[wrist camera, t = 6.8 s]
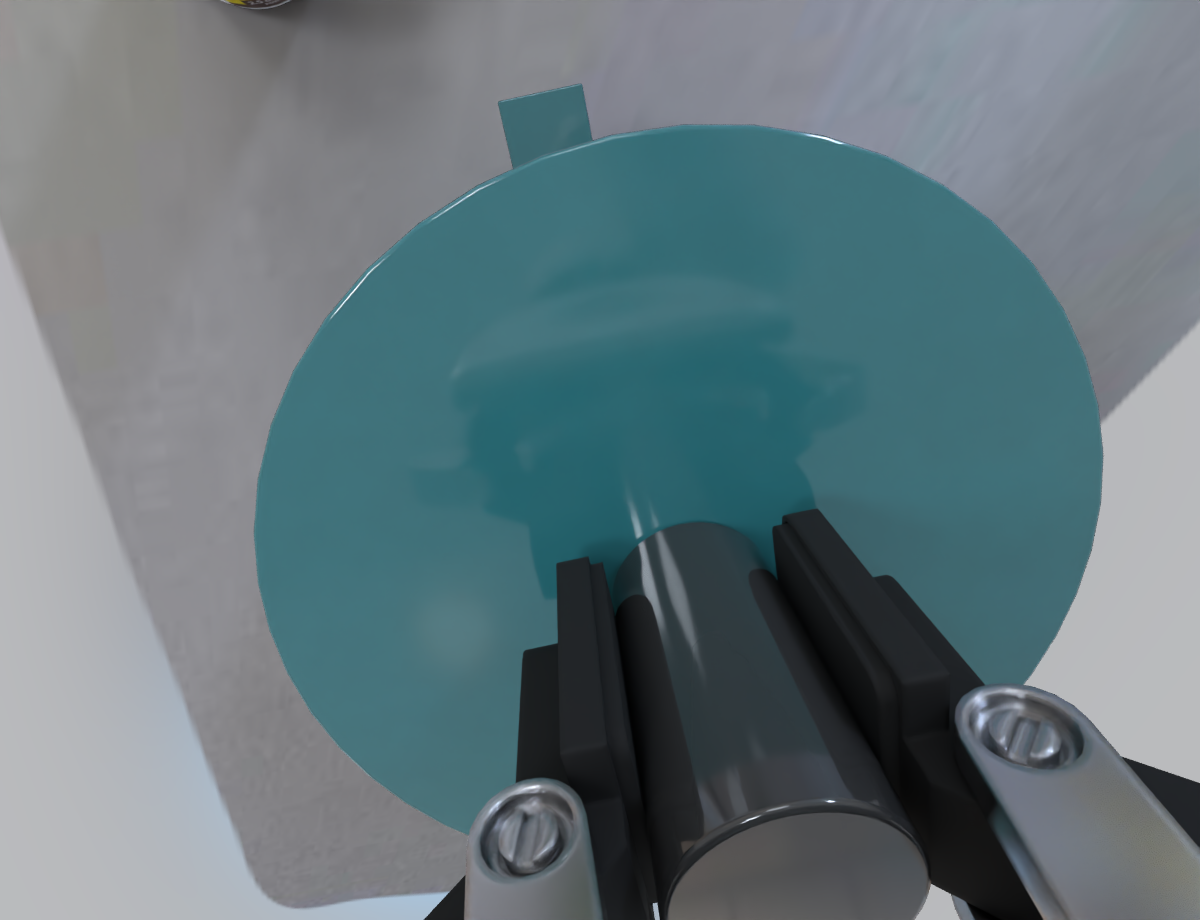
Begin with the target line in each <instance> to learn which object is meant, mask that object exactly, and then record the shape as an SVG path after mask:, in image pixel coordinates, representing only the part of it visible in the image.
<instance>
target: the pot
mask: <svg viewBox="0 0 1200 920" xmlns="http://www.w3.org/2000/svg"><path fill="white" fill-rule="evenodd" d="M498 106H499V110H500V115H501V119H502V123H503V127H504V132H505V136H506V140H507V145H508V149H509V153H510V158H511V162H512V166H513V169H514V168H516V167H518V166H520V165H523V164H525V163H527V162H529V161H531V160H533V159H536V158H538V157H540V156H542V155H545V154H549V153H552V152H555V151H559V150H562V149H566V148H569V147H572V146H576V145H579V144H582V143H586V142H589V141H593V140H592V135H591V129H590V124H589V118H588V113H587V108H586V102H585V97H584V91H583V86H582V84H576V85H571V86H566V87H562V88H557V89H553V90H548V91H544V92H539V93H534V94H530V95H525V96H521V97H516V98H512V99H507V100H502V101H499V102H498Z"/></svg>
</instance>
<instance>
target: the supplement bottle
mask: <svg viewBox="0 0 1200 920" xmlns="http://www.w3.org/2000/svg"><path fill="white" fill-rule="evenodd" d="M221 1H223V2H225V3H228V4H231V5H235V6H238V7H243V8H250V9H267V8H272V7H276V6H280V5H282V4H285V3H287V2H289V1H291V0H221Z"/></svg>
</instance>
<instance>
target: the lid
mask: <svg viewBox="0 0 1200 920" xmlns="http://www.w3.org/2000/svg"><path fill="white" fill-rule="evenodd" d="M1102 472H1103V446H1102V437H1101V427H1100V417H1099V407H1098V402H1097V399H1096V395H1095V391H1094V388H1093V384H1092V380H1091V376H1090V373H1089V369H1088V365H1087V361H1086V358H1085V355H1084V353H1083V351H1082V348H1081V346H1080V344H1079V342H1078V340H1077V337H1076V335H1075V333H1074V331H1073V329H1072V326H1071V324H1070V322H1069V320H1068V318H1067V315H1066V313H1065V311H1064V309H1063V307H1062V306H1061V304H1060V303H1059V301H1058V300H1057V298H1056V297H1055V296H1054V294H1053V293H1052V291H1051V290H1050V288H1049V287H1048V285H1047V284H1046V282H1045V281H1044V279H1043V278H1042V276H1041V275H1040V273H1039V272H1038V271H1037V269H1036V268H1035V266H1034V265H1033V263H1032V262H1031V261H1030V260H1029V259H1028V258H1027V257H1026V255H1025V254H1024V253H1023V252H1022V251H1021V250H1020V249H1019V248H1018V247H1017V246H1016V245H1015V244H1014V243H1013V242H1012V241H1011V240H1010V239H1009V238H1008V237H1007V236H1006V235H1005V234H1004V233H1003V232H1002V231H1001V230H1000V229H999V228H998V226H997V225H996V224H995V223H994V222H993V221H992V220H991V219H989V218H988V217H986V216H985V215H984V214H982V213H981V212H980V211H978V210H977V209H976V208H974V207H973V206H971V205H970V204H969V203H967V202H966V201H965V200H963V199H962V198H961V197H959V196H958V195H957V194H955V193H954V192H952V191H951V190H950V189H948V188H947V187H946V186H944V185H943V184H941V183H939V182H937V181H935V180H933V179H931V178H929V177H927V176H925V175H923V174H921V173H919V172H917V171H916V170H914V169H912V168H910V167H908V166H906V165H904V164H902V163H900V162H898V161H896V160H894V159H892V158H890V157H888V156H886V155H883V154H880V153H877V152H873V151H870V150H867V149H864V148H861V147H858V146H855V145H851V144H848V143H845V142H842V141H839V140H836V139H833V138H830V137H826V136H823V135H818V134H811V133H805V132H798V131H792V130H785V129H779V128H772V127H766V126H759V125H693V124H683V125H676V126H669V127H662V128H655V129H648V130H642V131H635V132H628V133H621V134H614V135H609V136H606V137H603V138H599V139H596V140H593V141H589V142H586V143H582V144H579V145H576V146H572V147H569V148H566V149H562V150H559V151H555V152H552V153H549V154H545V155H542V156H540V157H538V158H536V159H533V160H531V161H529V162H527V163H525V164H523V165H520V166H518V167H516V168H514V169H512V170H510V171H507V172H505V173H503V174H501V175H499V176H496V177H494V178H492V179H490V180H488V181H486V182H483V183H481V184H479V185H477V186H475V187H474V188H472V189H471V190H469V191H468V192H466V193H465V194H463V195H462V196H460V197H458V198H457V199H455V200H454V201H452V202H451V203H449V204H448V205H446V206H445V207H443V208H442V209H440V210H438V211H437V212H435V213H434V214H432V215H431V216H429V217H428V218H426V219H425V220H423V221H422V222H420V223H418V224H417V225H416V226H415V227H414V228H413V229H412V230H410V231H409V232H408V233H407V234H406V235H405V236H404V237H402V238H401V239H400V240H399V241H398V242H397V243H396V244H395V245H393V246H392V247H391V248H390V249H389V250H388V251H387V252H385V253H384V254H383V255H382V256H381V257H380V258H379V259H377V260H376V261H375V262H374V263H373V264H372V265H371V266H370V267H368V268H367V269H366V271H365V272H364V273H363V274H362V275H361V277H360V278H359V279H358V280H357V281H356V282H355V284H354V285H353V286H352V287H351V288H350V290H349V291H348V292H347V293H346V294H345V295H344V297H343V298H342V299H341V300H340V301H339V303H338V304H337V305H336V306H335V307H334V309H333V310H332V311H331V312H330V313H329V314H328V316H327V317H326V318H325V320H324V321H323V323H322V325H321V326H320V328H319V329H318V331H317V333H316V334H315V336H314V338H313V339H312V341H311V343H310V344H309V346H308V347H307V349H306V351H305V352H304V354H303V356H302V357H301V359H300V361H299V362H298V364H297V365H296V367H295V369H294V370H293V373H292V375H291V377H290V380H289V382H288V385H287V387H286V389H285V392H284V394H283V397H282V399H281V401H280V404H279V406H278V409H277V411H276V413H275V416H274V418H273V421H272V423H271V426H270V430H269V434H268V438H267V443H266V447H265V451H264V455H263V459H262V463H261V468H260V472H259V476H258V483H257V496H256V509H255V522H254V541H255V553H256V565H257V577H258V585H259V589H260V593H261V598H262V602H263V606H264V610H265V614H266V618H267V622H268V626H269V630H270V633H271V635H272V638H273V640H274V642H275V645H276V647H277V650H278V652H279V654H280V657H281V659H282V662H283V664H284V667H285V669H286V671H287V674H288V675H289V677H290V679H291V680H292V682H293V684H294V685H295V687H296V689H297V690H298V692H299V694H300V695H301V697H302V699H303V700H304V702H305V704H306V706H307V707H308V709H309V711H310V712H311V714H312V715H313V716H314V717H315V719H316V720H317V721H318V722H319V723H320V725H321V726H322V727H323V728H324V730H325V731H326V732H327V733H328V735H329V736H330V737H331V738H332V740H333V741H334V742H335V743H336V745H337V746H338V747H339V748H340V749H341V750H342V751H343V752H344V753H345V754H346V755H347V756H348V757H349V758H350V759H352V760H353V761H354V762H355V763H356V764H357V765H358V766H359V767H360V768H361V769H362V770H363V771H364V772H365V773H366V774H367V775H368V776H369V777H370V778H372V779H373V780H374V781H376V782H377V783H378V784H380V785H381V786H383V787H384V788H385V789H387V790H388V791H389V792H391V793H392V794H393V795H395V796H396V797H397V798H399V799H400V800H401V801H403V802H404V803H406V804H407V805H409V806H411V807H413V808H414V809H416V810H418V811H420V812H421V813H423V814H425V815H426V816H428V817H430V818H432V819H433V820H435V821H437V822H439V823H440V824H442V825H444V826H447V827H449V828H451V829H453V830H456V831H458V832H460V833H463V834H465V835H467V836H469V832H470V828H471V826H472V824H473V823H474V821H475V819H476V817H477V815H478V813H479V812H480V810H481V809H482V808H483V807H484V806H485V805H486V804H487V802H488V801H489V800H490V799H491V798H492V797H493V796H495V795H496V794H498V793H499V792H500V791H502V790H503V789H505V788H506V787H508V786H510V785H513V784H515V783H516V767H517V748H518V729H519V711H520V692H521V673H522V658H523V652H524V651H525V650H528V649H533V648H537V647H542V646H547V645H552V644H556V643H558V628H557V579H556V564H557V563H559V562H564V561H568V560H573V559H578V558H583V557H587V556H588V557H589V560H590V563H591V564H596V563H601V562H602V563H603V566H604V570H605V574H606V579H607V583H608V587H609V592H610V596H611V600H612V604H613V609H614V613H615V618H616V624H617V631H618V638H619V644H620V651H621V657H622V664H623V671H624V677H625V684H626V691H627V697H628V704H629V710H630V717H631V724H632V730H633V737H634V744H635V750H636V757H637V763H638V770H639V777H640V783H641V790H642V797H643V803H644V810H645V816H646V821H645V823H646V829H647V836H648V843H649V849H650V856H651V863H652V870H653V876H654V883H655V890H656V896H657V903H658V910H659V916H660V920H915V918H916V916H917V915H918V914H919V912H920V911H921V909H922V907H923V905H924V903H925V901H926V899H927V896H928V893H929V889H930V885H931V876H932V874H931V864H930V856H929V853H928V849H927V846H926V844H925V842H924V840H923V839H922V837H921V835H920V833H919V831H918V830H917V828H916V826H915V824H914V823H913V821H912V819H911V817H910V815H909V814H908V812H907V810H906V808H905V807H904V805H903V803H902V801H901V799H900V798H899V796H898V794H897V792H896V791H895V789H894V787H893V785H892V783H891V782H890V780H889V778H888V776H887V774H886V773H885V771H884V769H883V767H882V766H881V764H880V762H879V760H878V758H877V757H876V755H875V753H874V751H873V750H872V748H871V746H870V744H869V742H868V741H867V739H866V737H865V735H864V734H863V732H862V730H861V728H860V726H859V725H858V723H857V721H856V719H855V718H854V716H853V714H852V712H851V710H850V709H849V707H848V705H847V703H846V702H845V700H844V698H843V696H842V694H841V693H840V691H839V689H838V687H837V685H836V684H835V682H834V680H833V678H832V677H831V675H830V673H829V671H828V669H827V668H826V666H825V664H824V662H823V661H822V659H821V657H820V655H819V653H818V652H817V650H816V648H815V646H814V645H813V643H812V641H811V639H810V637H809V636H808V634H807V632H806V630H805V629H804V627H803V625H802V623H801V621H800V620H799V618H798V616H797V614H796V613H795V611H794V609H793V607H792V605H791V604H790V602H789V600H788V598H787V596H786V595H785V593H784V591H783V589H782V588H781V586H780V584H779V582H778V580H777V572H776V563H775V554H774V544H773V535H772V529H773V526H776V525H781V524H782V517H783V516H784V515H787V514H792V513H796V512H801V511H806V510H811V509H818V510H819V511H820V512H821V513H822V514H823V515H824V517H825V518H826V519H827V520H828V522H829V523H830V524H831V525H832V527H833V528H834V529H835V530H836V532H837V533H838V534H839V535H840V537H841V538H842V539H843V540H844V542H845V543H846V544H847V545H848V547H849V548H850V549H851V550H852V552H853V553H854V554H855V555H856V557H857V558H858V559H859V560H860V562H861V563H862V564H863V565H864V567H865V568H866V569H867V570H868V572H869V573H870V574H871V575H872V577H877V576H882V575H889V576H892V577H893V578H894V579H895V580H896V581H897V582H898V583H899V584H900V585H901V586H902V588H903V589H904V590H905V591H906V592H907V593H908V595H909V596H910V597H911V598H912V599H913V600H914V602H915V603H916V604H917V605H918V606H919V608H920V609H921V610H922V611H923V612H924V613H925V615H926V616H927V617H928V618H929V619H930V620H931V622H932V623H933V624H934V625H935V626H936V627H937V629H938V630H939V631H940V632H941V633H942V635H943V636H944V637H945V638H946V639H947V640H948V642H949V643H950V644H951V645H952V646H953V647H954V649H955V650H956V651H957V652H958V653H959V655H960V656H961V657H962V658H963V659H964V660H965V662H966V663H967V664H968V665H969V666H970V667H971V669H972V670H973V671H974V672H975V673H976V674H977V676H978V677H979V678H980V679H981V680H982V682H983V683H984V684H985V685H988V684H994V683H1014V684H1020V685H1024V683H1025V682H1026V681H1027V680H1028V678H1029V677H1030V676H1031V675H1032V673H1033V672H1034V670H1035V668H1036V667H1037V665H1038V664H1039V662H1040V661H1041V659H1042V657H1043V656H1044V655H1045V653H1046V651H1047V650H1048V648H1049V647H1050V645H1051V644H1052V642H1053V640H1054V639H1055V637H1056V636H1057V634H1058V631H1059V630H1060V627H1061V625H1062V623H1063V621H1064V619H1065V617H1066V615H1067V613H1068V611H1069V609H1070V607H1071V605H1072V602H1073V601H1074V599H1075V597H1076V594H1077V591H1078V589H1079V586H1080V583H1081V580H1082V577H1083V574H1084V571H1085V568H1086V565H1087V562H1088V559H1089V556H1090V554H1091V551H1092V546H1093V541H1094V536H1095V531H1096V526H1097V521H1098V515H1099V510H1100V505H1101V492H1102Z"/></svg>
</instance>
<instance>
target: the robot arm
mask: <svg viewBox="0 0 1200 920" xmlns="http://www.w3.org/2000/svg"><path fill="white" fill-rule="evenodd" d="M772 535H773V544H774V554H775V563H776V572H777V580H778V582H779V584H780V586H781V588H782V589H783V591H784V593H785V595H786V596H787V598H788V600H789V602H790V604H791V605H792V607H793V609H794V611H795V613H796V614H797V616H798V618H799V620H800V621H801V623H802V625H803V627H804V629H805V630H806V632H807V634H808V636H809V637H810V639H811V641H812V643H813V645H814V646H815V648H816V650H817V652H818V653H819V655H820V657H821V659H822V661H823V662H824V664H825V666H826V668H827V669H828V671H829V673H830V675H831V677H832V678H833V680H834V682H835V684H836V685H837V687H838V689H839V691H840V693H841V694H842V696H843V698H844V700H845V702H846V703H847V705H848V707H849V709H850V710H851V712H852V714H853V716H854V718H855V719H856V721H857V723H858V725H859V726H860V728H861V730H862V732H863V734H864V735H865V737H866V739H867V741H868V742H869V744H870V746H871V748H872V750H873V751H874V753H875V755H876V757H877V758H878V760H879V762H880V764H881V766H882V767H883V769H884V771H885V773H886V774H887V776H888V778H889V780H890V782H891V783H892V785H893V787H894V789H895V791H896V792H897V794H898V796H899V798H900V799H901V801H902V803H903V805H904V807H905V808H906V810H907V812H908V814H909V815H910V817H911V819H912V821H913V823H914V824H915V826H916V828H917V830H918V831H919V833H920V835H921V837H922V839H923V840H924V842H925V844H926V846H927V849H928V853H929V856H930V864H931V874H932V876H931V884H933V885H935V886H937V887H939V888H941V889H942V890H944V891H946V892H948V893H950V894H951V896H952V900H953V903H954V906H955V909H956V911H957V914H958V916H959V918H960V920H1200V783H1198V782H1195V781H1192V780H1189V779H1186V778H1183V777H1180V776H1177V775H1174V774H1171V773H1168V772H1165V771H1162V770H1159V769H1156V768H1154V767H1151V766H1147V765H1145V764H1142V763H1139V762H1136V761H1133V760H1130V759H1127V758H1124V757H1121V756H1120V755H1119V753H1118V752H1117V751H1116V750H1115V749H1114V748H1113V747H1112V745H1111V744H1110V743H1109V742H1108V741H1107V739H1106V738H1105V737H1104V736H1103V735H1102V734H1101V732H1099V730H1098V729H1097V728H1096V727H1095V725H1094V724H1093V723H1092V722H1091V721H1090V720H1089V719H1088V718H1087V717H1086V716H1085V715H1084V714H1083V713H1082V712H1080V711H1079V710H1078V709H1077V708H1076V707H1075V706H1074V705H1072V704H1070V703H1068V702H1067V701H1065V700H1063V699H1062V698H1060V697H1058V696H1057V695H1055V694H1052V693H1049V692H1046V691H1044V690H1041V689H1038V688H1036V687H1032V686H1026V685H1020V684H1014V683H994V684H988V685H985V684H984V683H983V682H982V680H981V679H980V678H979V677H978V676H977V674H976V673H975V672H974V671H973V670H972V669H971V667H970V666H969V665H968V664H967V663H966V662H965V660H964V659H963V658H962V657H961V656H960V655H959V653H958V652H957V651H956V650H955V649H954V647H953V646H952V645H951V644H950V643H949V642H948V640H947V639H946V638H945V637H944V636H943V635H942V633H941V632H940V631H939V630H938V629H937V627H936V626H935V625H934V624H933V623H932V622H931V620H930V619H929V618H928V617H927V616H926V615H925V613H924V612H923V611H922V610H921V609H920V608H919V606H918V605H917V604H916V603H915V602H914V600H913V599H912V598H911V597H910V596H909V595H908V593H907V592H906V591H905V590H904V589H903V588H902V586H901V585H900V584H899V583H898V582H897V581H896V580H895V579H894V578H893V577H892V576H889V575H882V576H877V577H872V575H871V574H870V573H869V572H868V570H867V569H866V568H865V567H864V565H863V564H862V563H861V562H860V560H859V559H858V558H857V557H856V555H855V554H854V553H853V552H852V550H851V549H850V548H849V547H848V545H847V544H846V543H845V542H844V540H843V539H842V538H841V537H840V535H839V534H838V533H837V532H836V530H835V529H834V528H833V527H832V525H831V524H830V523H829V522H828V520H827V519H826V518H825V517H824V515H823V514H822V513H821V512H820V511H819V510H818V509H811V510H806V511H801V512H796V513H792V514H787V515H784V516H783V517H782V524H781V525H776V526H773V529H772ZM556 579H557V628H558V643H556V644H552V645H547V646H542V647H537V648H533V649H528V650H525V651H524V652H523V658H522V673H521V692H520V711H519V729H518V748H517V767H516V783H515V784H513V785H510V786H508V787H506V788H505V789H503V790H502V791H500V792H499V793H498V794H496V795H495V796H493V797H492V798H491V799H490V800H489V801H488V802H487V804H486V805H485V806H484V807H483V808H482V809H481V810H480V812H479V813H478V815H477V817H476V819H475V821H474V823H473V824H472V826H471V828H470V832H469V837H468V842H467V849H466V875H465V876H464V877H463V878H462V879H461V880H460V882H459V883H458V884H457V885H456V886H455V887H454V888H453V889H452V890H451V891H450V892H449V893H448V894H447V895H446V897H445V898H444V899H443V900H442V901H441V902H440V903H439V904H438V905H437V906H436V907H435V908H434V909H433V910H432V912H431V913H430V914H429V915H428V916H427V917H426V918H425V919H424V920H655V918H654V911H653V904H652V903H657V896H656V890H655V883H654V876H653V870H652V863H651V856H650V849H649V843H648V836H647V829H646V823H645V821H646V816H645V810H644V803H643V797H642V790H641V783H640V777H639V770H638V763H637V757H636V750H635V744H634V737H633V730H632V724H631V717H630V710H629V704H628V697H627V691H626V684H625V677H624V671H623V664H622V657H621V651H620V644H619V638H618V631H617V624H616V618H615V613H614V609H613V604H612V600H611V596H610V592H609V587H608V583H607V579H606V574H605V570H604V566H603V563H602V562H601V563H596V564H591V563H590V560H589V557H588V556H587V557H583V558H578V559H573V560H568V561H564V562H559V563H557V564H556Z"/></svg>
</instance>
